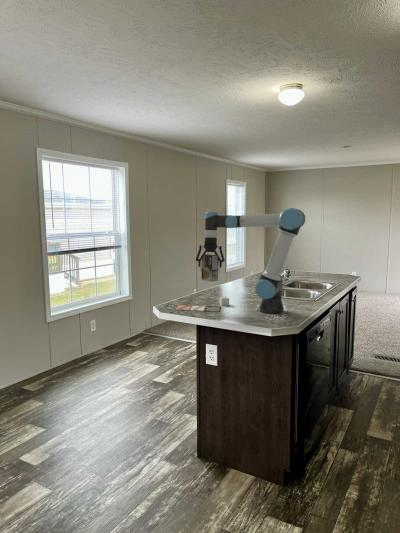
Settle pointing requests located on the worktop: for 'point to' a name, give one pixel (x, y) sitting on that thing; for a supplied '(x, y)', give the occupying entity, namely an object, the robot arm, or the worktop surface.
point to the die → (224, 301)
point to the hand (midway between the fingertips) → (209, 272)
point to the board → (194, 308)
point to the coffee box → (210, 268)
